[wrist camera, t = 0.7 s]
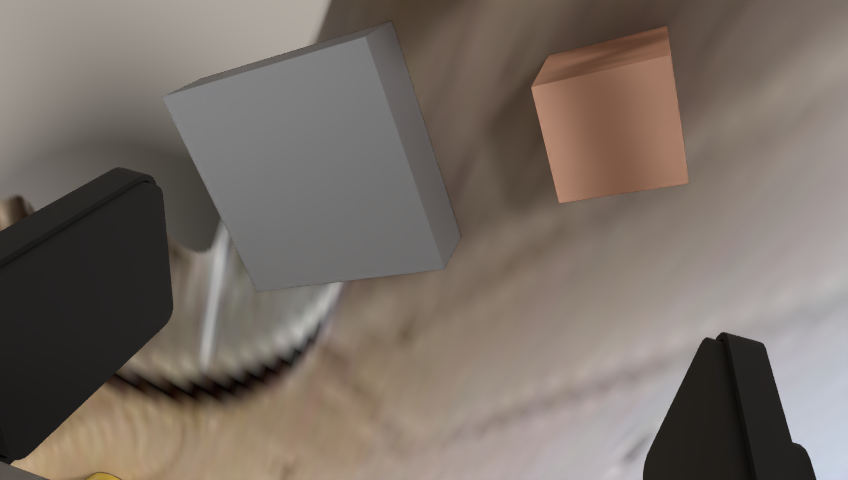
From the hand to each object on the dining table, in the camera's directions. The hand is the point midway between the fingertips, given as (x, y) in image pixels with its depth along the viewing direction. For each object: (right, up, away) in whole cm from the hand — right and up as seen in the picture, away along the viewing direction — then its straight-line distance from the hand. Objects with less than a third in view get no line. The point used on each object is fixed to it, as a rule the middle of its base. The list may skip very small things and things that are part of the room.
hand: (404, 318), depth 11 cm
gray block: (-6, +7, +30) cm, 32 cm away
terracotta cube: (+11, +9, +23) cm, 27 cm away
